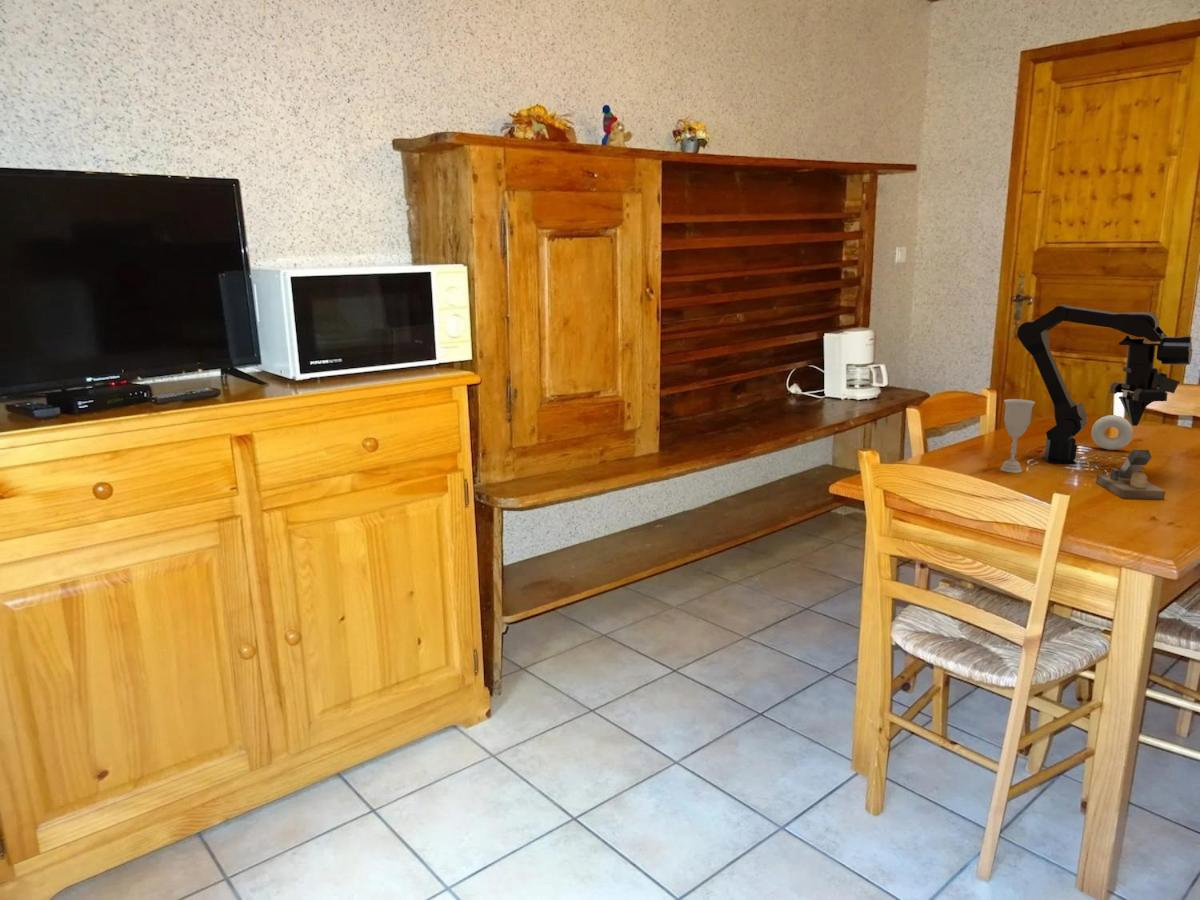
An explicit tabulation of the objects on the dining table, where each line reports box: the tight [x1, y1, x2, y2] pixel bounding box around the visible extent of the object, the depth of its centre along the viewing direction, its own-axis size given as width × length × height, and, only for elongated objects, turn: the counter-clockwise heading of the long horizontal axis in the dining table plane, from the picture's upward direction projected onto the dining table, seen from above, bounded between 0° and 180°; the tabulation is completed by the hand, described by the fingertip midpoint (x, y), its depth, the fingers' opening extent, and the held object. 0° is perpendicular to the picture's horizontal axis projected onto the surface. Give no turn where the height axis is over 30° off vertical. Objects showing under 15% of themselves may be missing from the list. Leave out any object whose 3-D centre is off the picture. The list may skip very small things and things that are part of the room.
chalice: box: [999, 398, 1036, 474], centre depth 213 cm, size 7×7×18 cm
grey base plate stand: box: [1095, 468, 1166, 501], centre depth 197 cm, size 13×9×4 cm
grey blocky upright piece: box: [1119, 449, 1153, 479], centre depth 196 cm, size 2×3×9 cm
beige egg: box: [1130, 471, 1148, 489], centre depth 193 cm, size 3×3×4 cm
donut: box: [1091, 414, 1134, 451], centre depth 234 cm, size 10×4×10 cm, turn 59°
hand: (1134, 425), depth 210 cm, fingers closed
